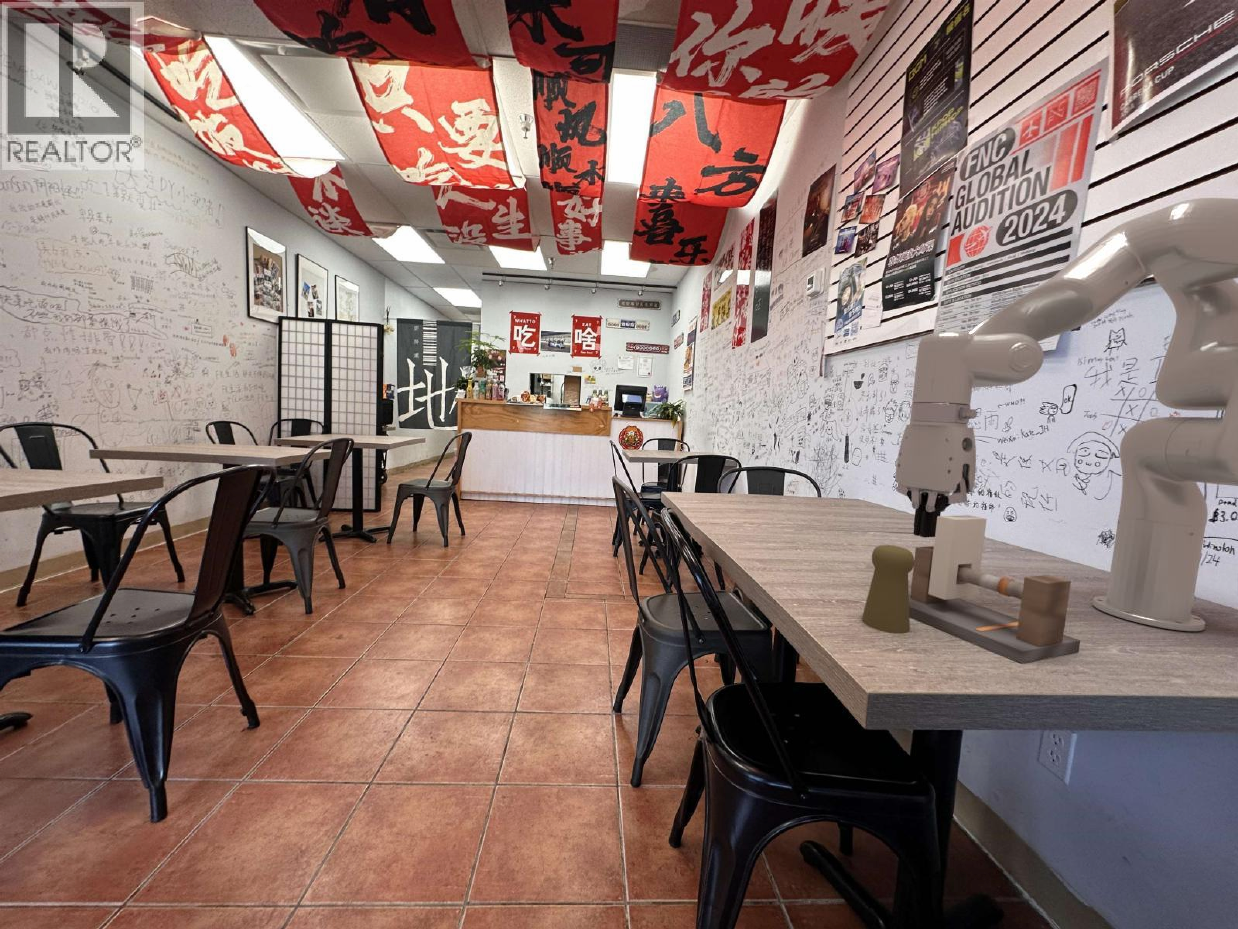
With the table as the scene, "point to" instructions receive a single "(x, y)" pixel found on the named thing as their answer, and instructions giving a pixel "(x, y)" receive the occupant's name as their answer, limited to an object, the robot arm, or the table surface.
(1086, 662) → the table surface
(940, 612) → the rod board
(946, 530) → the collar
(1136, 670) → the table surface
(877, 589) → the olive green pawn
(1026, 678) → the table surface
